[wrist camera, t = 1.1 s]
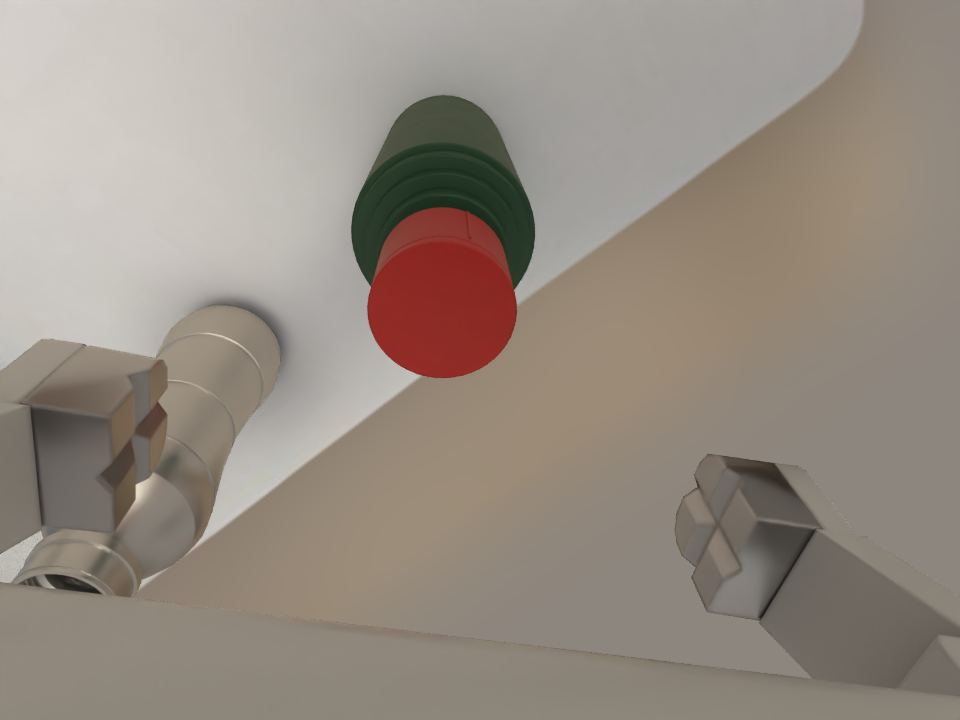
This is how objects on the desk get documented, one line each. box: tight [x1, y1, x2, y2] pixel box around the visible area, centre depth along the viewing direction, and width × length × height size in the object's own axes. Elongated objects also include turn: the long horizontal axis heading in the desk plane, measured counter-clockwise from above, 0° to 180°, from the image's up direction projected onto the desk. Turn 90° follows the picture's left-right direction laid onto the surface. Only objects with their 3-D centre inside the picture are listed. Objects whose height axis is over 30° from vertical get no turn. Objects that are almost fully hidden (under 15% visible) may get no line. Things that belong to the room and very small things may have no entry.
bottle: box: [351, 95, 535, 289], centre depth 26 cm, size 6×6×20 cm
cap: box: [367, 207, 517, 378], centre depth 18 cm, size 4×4×3 cm
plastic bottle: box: [11, 305, 281, 598], centre depth 31 cm, size 6×7×20 cm
